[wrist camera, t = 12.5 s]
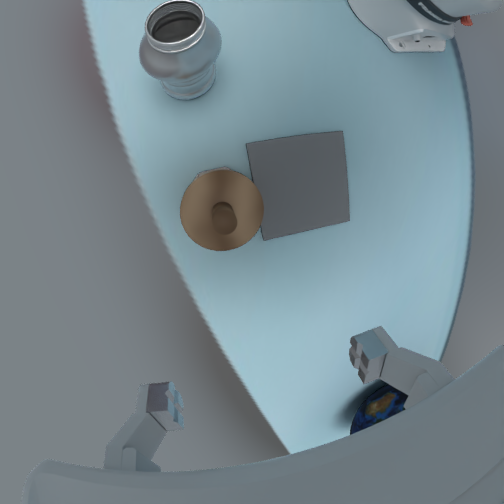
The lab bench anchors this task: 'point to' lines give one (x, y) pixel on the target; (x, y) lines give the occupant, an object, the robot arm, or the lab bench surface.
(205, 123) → the lab bench surface
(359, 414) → the globe
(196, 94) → the plastic bottle
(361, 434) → the robot arm
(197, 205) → the lid
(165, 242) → the lab bench surface
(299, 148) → the mat
